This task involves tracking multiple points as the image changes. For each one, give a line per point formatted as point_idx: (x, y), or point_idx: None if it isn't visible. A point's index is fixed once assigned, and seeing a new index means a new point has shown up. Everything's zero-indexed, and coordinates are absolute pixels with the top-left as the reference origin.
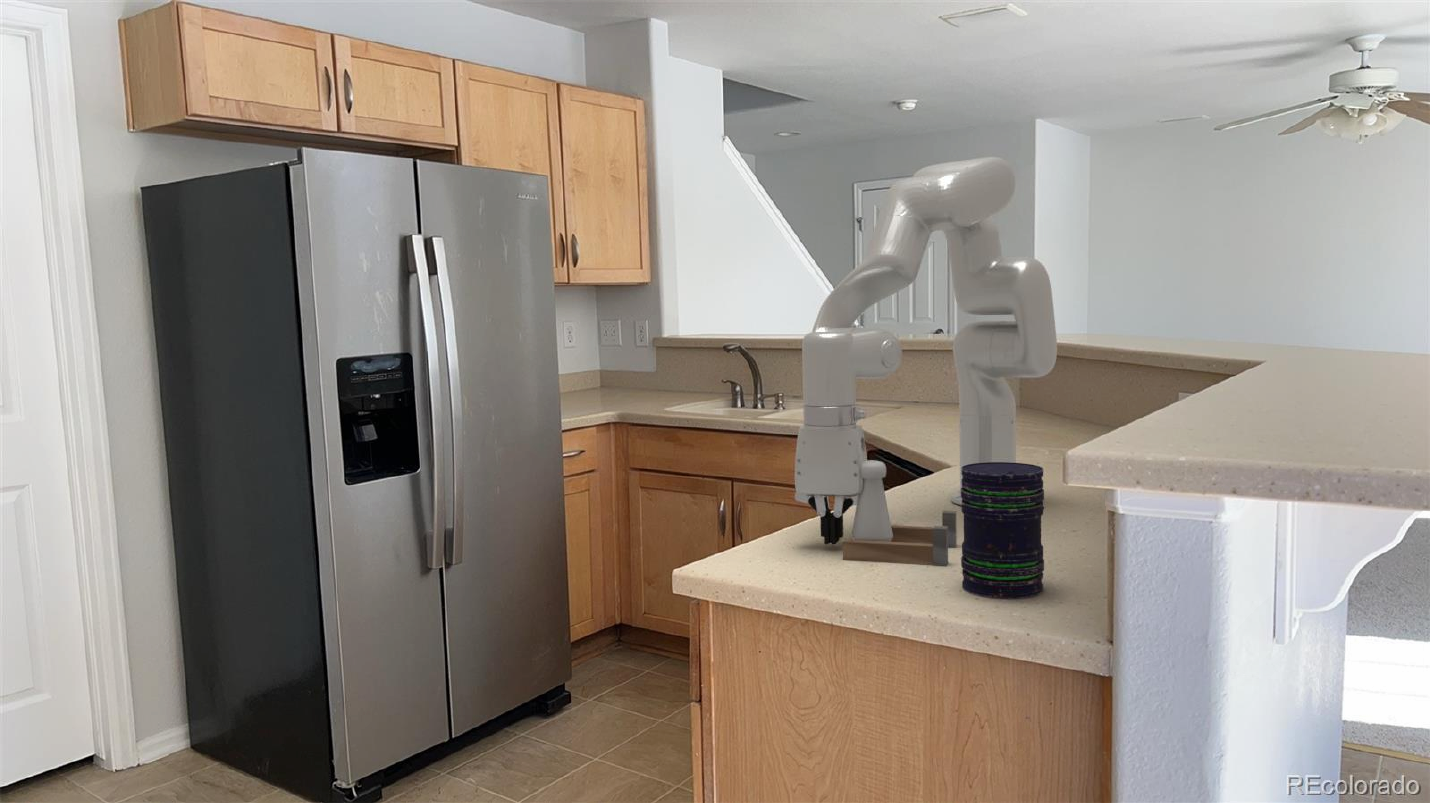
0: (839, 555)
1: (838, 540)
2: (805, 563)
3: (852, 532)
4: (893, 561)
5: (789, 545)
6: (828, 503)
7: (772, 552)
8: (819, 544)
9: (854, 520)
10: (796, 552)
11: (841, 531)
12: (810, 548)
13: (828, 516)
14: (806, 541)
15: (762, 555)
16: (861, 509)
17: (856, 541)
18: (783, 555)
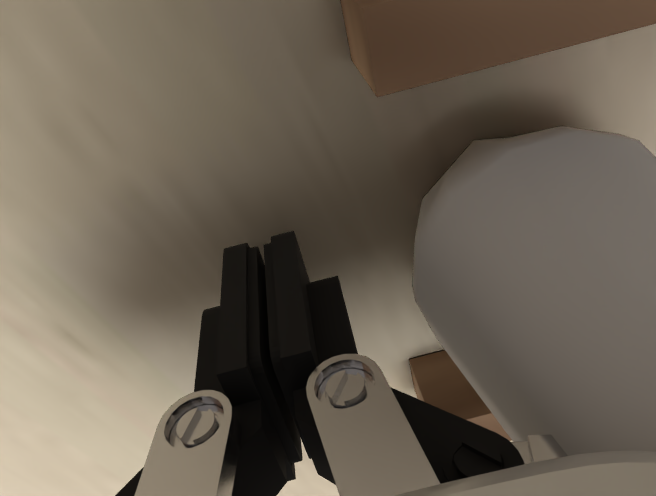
0: (372, 348)
1: (302, 260)
2: (300, 480)
3: (434, 332)
4: None
5: (16, 316)
6: (228, 474)
7: (60, 439)
8: (151, 222)
9: (484, 402)
10: (158, 395)
11: (351, 329)
12: (167, 313)
13: (283, 449)
14: (21, 195)
15: (64, 484)
16: None
17: (502, 429)
18: (143, 449)
